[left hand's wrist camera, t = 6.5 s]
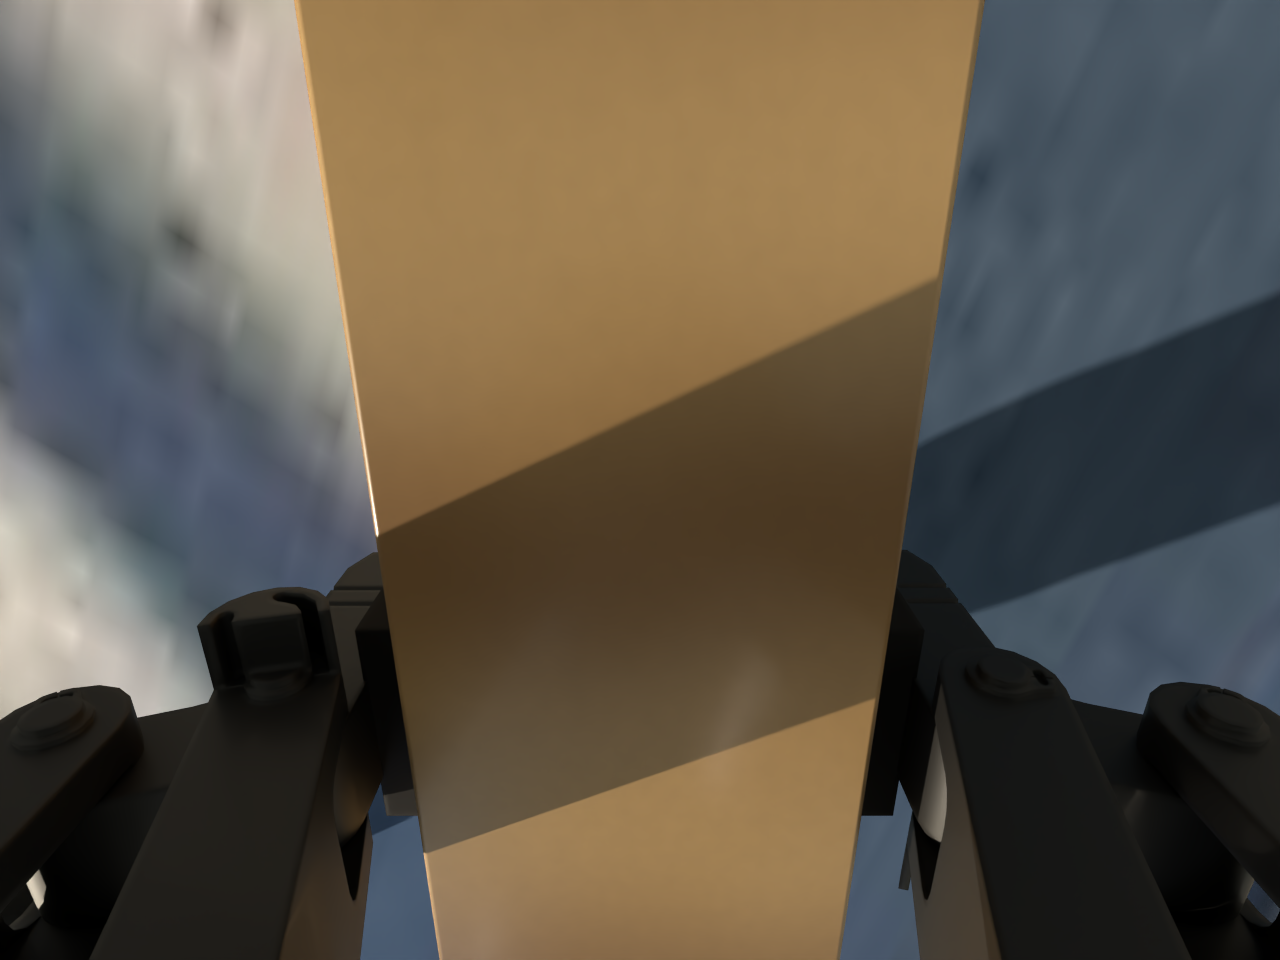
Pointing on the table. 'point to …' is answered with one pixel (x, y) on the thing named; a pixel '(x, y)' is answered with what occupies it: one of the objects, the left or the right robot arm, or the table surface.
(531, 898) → the bar
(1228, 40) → the table surface
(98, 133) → the table surface
